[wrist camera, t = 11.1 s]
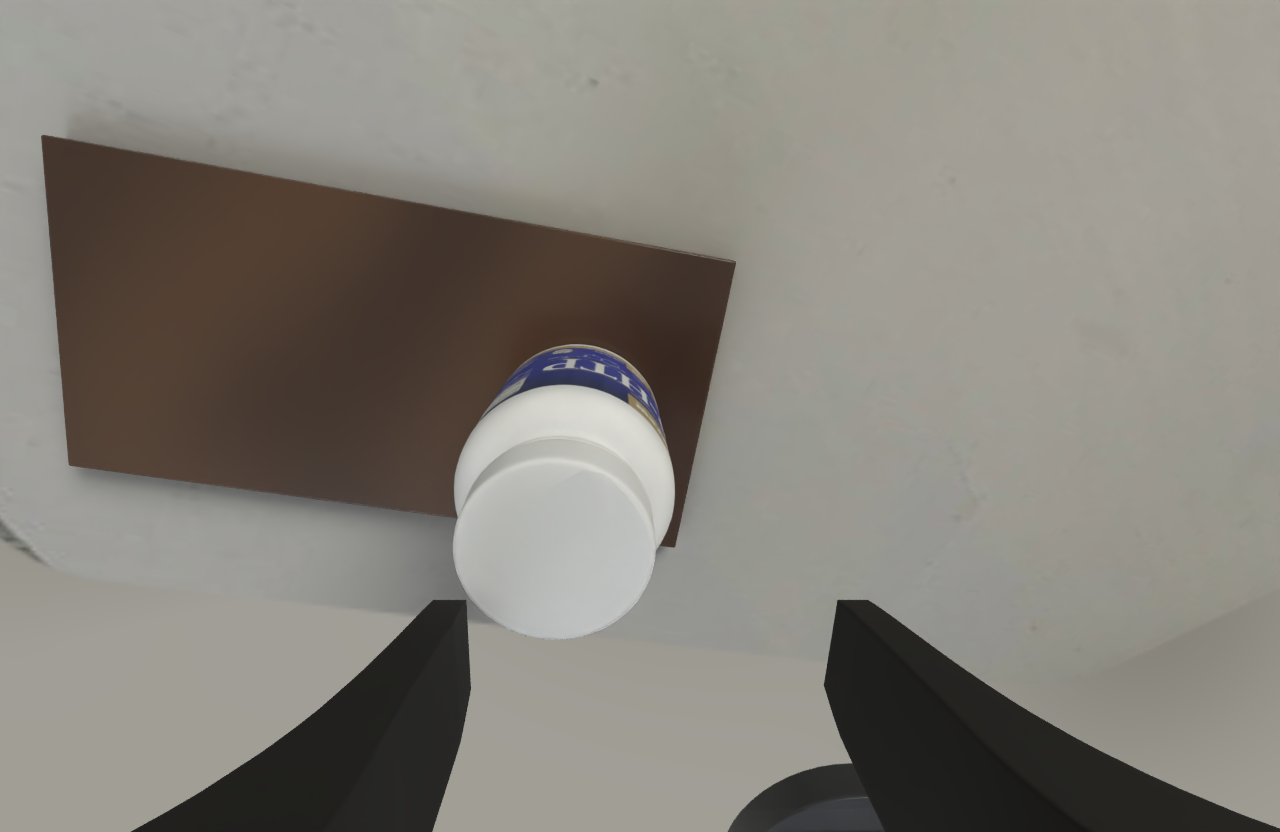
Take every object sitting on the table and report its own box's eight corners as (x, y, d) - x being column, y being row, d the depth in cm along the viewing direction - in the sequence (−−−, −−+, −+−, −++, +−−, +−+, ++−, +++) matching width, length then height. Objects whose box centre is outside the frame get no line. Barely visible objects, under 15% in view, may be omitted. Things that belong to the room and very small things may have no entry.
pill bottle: (688, 393, 21) (744, 512, 12) (606, 519, 22) (606, 708, 13) (545, 309, 20) (497, 375, 11) (467, 446, 21) (371, 600, 12)
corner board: (731, 260, 20) (736, 261, 20) (672, 537, 23) (674, 548, 22) (63, 138, 18) (39, 134, 18) (87, 457, 21) (67, 465, 20)
